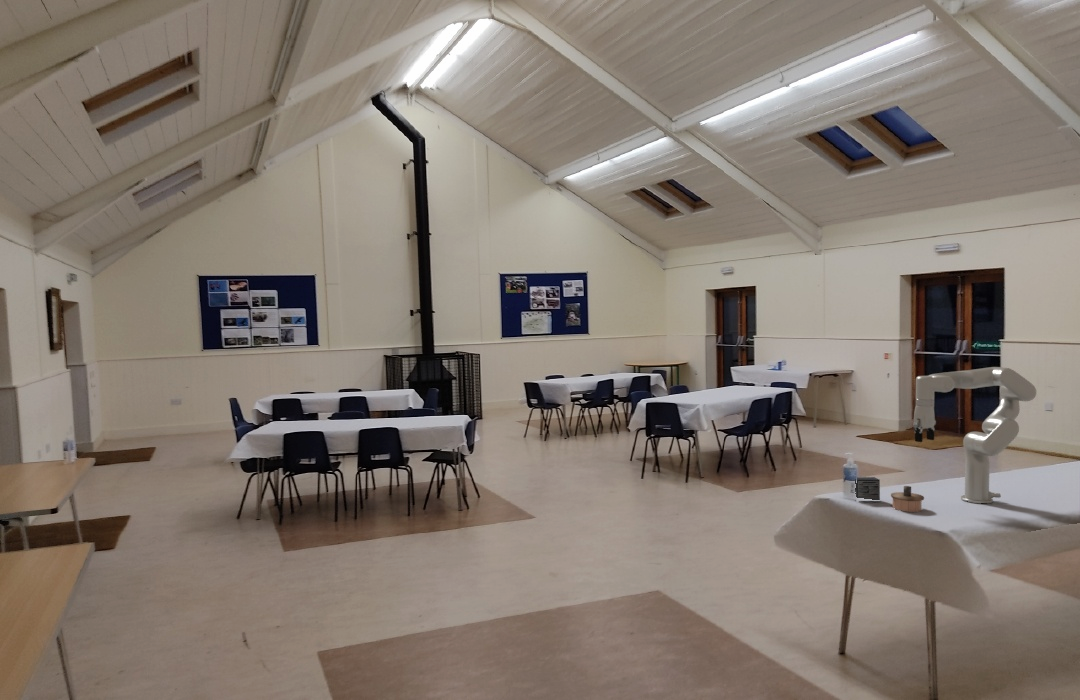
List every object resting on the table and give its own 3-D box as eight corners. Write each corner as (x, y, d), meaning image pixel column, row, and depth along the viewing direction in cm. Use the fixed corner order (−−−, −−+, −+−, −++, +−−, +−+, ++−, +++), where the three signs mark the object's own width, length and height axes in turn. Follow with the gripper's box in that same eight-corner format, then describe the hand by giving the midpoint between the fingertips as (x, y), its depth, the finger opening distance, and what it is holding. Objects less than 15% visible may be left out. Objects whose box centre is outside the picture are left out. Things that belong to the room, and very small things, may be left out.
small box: (874, 498, 342) (874, 476, 341) (880, 502, 335) (880, 479, 335) (851, 498, 342) (851, 476, 342) (856, 502, 336) (857, 479, 335)
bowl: (915, 505, 328) (915, 494, 328) (925, 512, 317) (925, 500, 317) (889, 505, 329) (889, 494, 329) (898, 511, 318) (898, 500, 318)
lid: (916, 494, 329) (917, 483, 329) (929, 501, 316) (929, 490, 316) (886, 493, 330) (886, 483, 330) (897, 500, 317) (897, 489, 317)
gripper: (927, 401, 341) (926, 437, 342) (906, 403, 331) (905, 441, 332) (943, 402, 335) (943, 439, 335) (922, 405, 325) (922, 443, 326)
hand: (924, 440), depth 334 cm, fingers open, 9 cm apart
